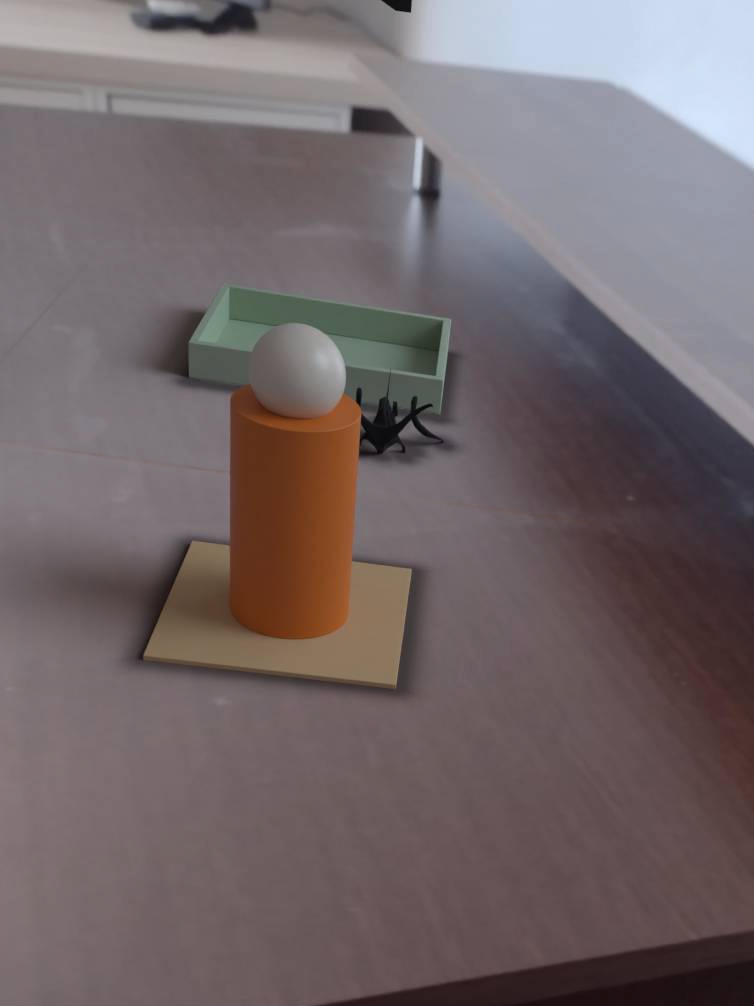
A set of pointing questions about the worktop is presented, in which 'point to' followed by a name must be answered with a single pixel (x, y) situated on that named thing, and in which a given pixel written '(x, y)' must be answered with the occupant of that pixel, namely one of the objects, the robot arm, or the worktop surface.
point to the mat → (229, 645)
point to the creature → (390, 423)
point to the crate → (352, 327)
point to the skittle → (293, 486)
